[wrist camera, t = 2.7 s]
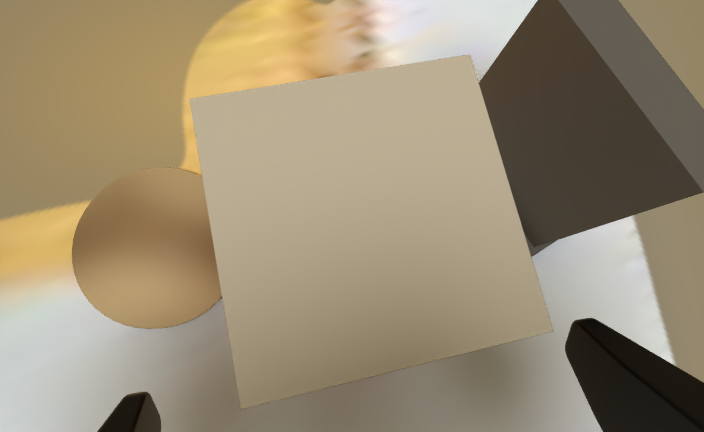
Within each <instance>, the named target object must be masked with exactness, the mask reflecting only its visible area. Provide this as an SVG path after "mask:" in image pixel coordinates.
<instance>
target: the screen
mask: <svg viewBox="0 0 704 432" xmlns="http://www.w3.org/2000/svg"><path fill="white" fill-rule="evenodd" d="M479 86H480V89H481V93H482V96H483V99H484V103H485V106H486V109H487V112H488V116H489V119H490V122H491V126H492V129H493V132H494V136H495V139H496V142H497V146H498V149H499V152H500V155H501V159H502V162H503V165H504V169H505V172H506V175H507V179H508V182H509V185H510V189H511V192H512V195H513V198H514V202H515V205H516V208H517V212H518V215H519V218H520V222H521V225H522V228H523V232H524V235H525V238H526V241H527V245H528V248H529V251H530V255H531V257H532V256H534V255H535V254H537V253H538V252H540V251H541V250H543V249H544V248H546V247H547V246H549V245H550V244H552V243H553V242H555V241H556V240H558V239H561V238H564V237H567V236H570V235H574V234H577V233H580V232H583V231H586V230H589V229H592V228H595V227H598V226H601V225H604V224H607V223H610V222H614V221H617V220H620V219H623V218H626V217H629V216H632V215H635V214H638V213H641V212H644V211H647V210H651V209H653V208H656V207H660V206H663V205H666V204H669V203H672V202H675V201H678V200H681V199H684V198H687V197H691V196H694V195H697V194H700V193H703V192H704V109H703V108H702V107H701V106H700V104H699V103H698V102H697V100H696V99H695V98H694V97H693V95H692V94H691V93H690V92H689V90H688V89H687V88H686V86H685V85H684V84H683V83H682V81H681V80H680V79H679V77H678V76H677V75H676V74H675V72H674V71H673V70H672V68H671V67H670V66H669V65H668V63H667V62H666V61H665V59H664V58H663V57H662V56H661V54H660V53H659V52H658V51H657V49H656V48H655V47H654V46H653V44H652V43H651V42H650V40H649V39H648V38H647V36H646V35H645V34H644V33H643V31H642V30H641V29H640V27H639V26H638V25H637V24H636V22H635V21H634V20H633V19H632V17H631V16H630V15H629V14H628V12H627V11H626V10H625V8H624V7H623V6H622V4H621V3H620V2H619V1H618V0H538V1H537V2H536V4H535V5H534V6H533V8H532V9H531V11H530V12H529V13H528V15H527V16H526V18H525V19H524V21H523V22H522V23H521V25H520V26H519V28H518V29H517V30H516V32H515V33H514V35H513V36H512V37H511V39H510V40H509V42H508V43H507V44H506V46H505V47H504V49H503V50H502V51H501V53H500V54H499V56H498V57H497V58H496V60H495V61H494V63H493V64H492V65H491V67H490V68H489V70H488V71H487V72H486V74H485V75H484V77H483V78H482V79H481V81H480V82H479Z"/></svg>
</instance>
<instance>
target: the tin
mask: <svg viewBox="0 0 704 432" xmlns="http://www.w3.org/2000/svg"><path fill="white" fill-rule="evenodd" d="M190 106H191V112H192V118H193V124H194V130H195V136H196V142H197V148H198V154H199V160H200V166H201V172H202V178H203V184H204V190H205V196H206V203H207V209H208V215H209V221H210V227H211V233H212V239H213V245H214V251H215V257H216V263H217V269H218V275H219V281H220V287H221V293H222V299H223V306H224V312H225V318H226V324H227V330H228V336H229V342H230V348H231V354H232V360H233V366H234V372H235V378H236V384H237V390H238V396H239V403H240V409H244V408H248V407H252V406H256V405H260V404H264V403H268V402H272V401H276V400H280V399H284V398H288V397H292V396H296V395H300V394H304V393H308V392H312V391H316V390H320V389H324V388H328V387H332V386H336V385H340V384H344V383H348V382H352V381H356V380H360V379H364V378H368V377H372V376H376V375H380V374H384V373H388V372H392V371H396V370H400V369H404V368H408V367H412V366H416V365H420V364H424V363H428V362H432V361H436V360H440V359H444V358H448V357H452V356H456V355H460V354H464V353H468V352H472V351H476V350H480V349H484V348H488V347H492V346H496V345H500V344H504V343H508V342H513V341H517V340H521V339H525V338H529V337H533V336H537V335H541V334H545V333H549V332H553V327H552V324H551V321H550V318H549V314H548V311H547V308H546V304H545V301H544V298H543V294H542V291H541V288H540V284H539V281H538V278H537V275H536V271H535V268H534V265H533V261H532V258H531V255H530V251H529V248H528V245H527V241H526V238H525V235H524V232H523V228H522V225H521V222H520V218H519V215H518V212H517V208H516V205H515V202H514V198H513V195H512V192H511V189H510V185H509V182H508V179H507V175H506V172H505V169H504V165H503V162H502V159H501V155H500V152H499V149H498V146H497V142H496V139H495V136H494V132H493V129H492V126H491V122H490V119H489V116H488V112H487V109H486V106H485V103H484V99H483V96H482V93H481V89H480V86H479V83H478V79H477V76H476V73H475V69H474V66H473V63H472V60H471V56H470V55H463V56H457V57H451V58H444V59H438V60H432V61H425V62H419V63H413V64H406V65H400V66H394V67H387V68H381V69H375V70H368V71H362V72H356V73H349V74H343V75H337V76H330V77H324V78H318V79H311V80H305V81H299V82H292V83H286V84H280V85H274V86H267V87H261V88H255V89H248V90H242V91H236V92H229V93H223V94H217V95H210V96H204V97H198V98H191V99H190Z"/></svg>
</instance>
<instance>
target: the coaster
mask: <svg viewBox="0 0 704 432" xmlns="http://www.w3.org/2000/svg"><path fill="white" fill-rule="evenodd" d="M72 263H73V268H74V273H75V276H76V279H77V282H78V284H79V286H80V288H81V290H82V292H83V294H84V295H85V296H86V298H87V299H88V301H89V302H90V303H91V304H92V305H93V306H94V307H95V308H96V309H97V310H98V311H100V312H101V313H102V314H104V315H105V316H107V317H109V318H110V319H112V320H114V321H116V322H119V323H121V324H124V325H127V326H131V327H136V328H145V329H152V328H166V327H172V326H176V325H180V324H183V323H186V322H188V321H190V320H193V319H195V318H196V317H198V316H200V315H202V314H203V313H205V312H206V311H207V310H209V309H210V308H211V307H213V306H214V305H215V304H216V303H217V302H218V301H219V300H220V299H221V298H222V293H221V287H220V281H219V275H218V269H217V263H216V257H215V251H214V245H213V239H212V233H211V227H210V221H209V215H208V209H207V203H206V196H205V190H204V184H203V178H202V177H201V176H199V175H197V174H194V173H192V172H189V171H185V170H181V169H176V168H159V167H158V168H149V169H144V170H140V171H136V172H133V173H131V174H128V175H126V176H124V177H122V178H120V179H118V180H116V181H114V182H113V183H111V184H110V185H108V186H107V187H106V188H105V189H103V190H102V191H101V192H100V193H99V194H98V195H97V196H96V197H95V198H94V199H93V200H92V201H91V203H90V204H89V205H88V207H87V208H86V210H85V211H84V213H83V215H82V217H81V219H80V221H79V223H78V226H77V228H76V231H75V235H74V239H73V247H72Z"/></svg>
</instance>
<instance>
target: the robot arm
mask: <svg viewBox="0 0 704 432" xmlns="http://www.w3.org/2000/svg"><path fill="white" fill-rule="evenodd" d="M565 351H566V355H567V358H568V360H569V362H570V364H571V366H572V368H573V371H574V373H575V375H576V377H577V379H578V381H579V384H580V386H581V388H582V390H583V392H584V394H585V396H586V399H587V401H588V403H589V405H590V407H591V409H592V411H593V413H594V415H595V418H596V420H597V421H598V423H599V425H600V427H601V429H602V430H603V432H704V383H703V382H701V381H700V380H698V379H696V378H695V377H693V376H691V375H690V374H688V373H686V372H684V371H683V370H681V369H679V368H678V367H676V366H674V365H673V364H671V363H669V362H667V361H666V360H664V359H662V358H661V357H659V356H657V355H656V354H654V353H652V352H650V351H649V350H647V349H645V348H644V347H642V346H640V345H639V344H637V343H635V342H633V341H632V340H630V339H628V338H627V337H625V336H623V335H622V334H620V333H618V332H616V331H615V330H613V329H611V328H610V327H608V326H606V325H604V324H603V323H601V322H599V321H598V320H596V319H593V318H586V319H580V320H575V321H574V322H573V323H572V325H571V328H570V331H569V334H568V338H567V341H566V344H565ZM98 432H161V419H160V415H159V413H158V411H157V408H156V406H155V404H154V402H153V400H152V397H151V395H150V394H149V393H148V392H139V393H133V394H129V395H127V396H125V397H124V398H123V399H122V400H121V402H120V403H119V404H118V405H117V407H116V408H115V409H114V411H113V412H112V413H111V415H110V416H109V417H108V419H107V420H106V421H105V423H104V424H103V425H102V426H101V428H100V429H99V430H98Z"/></svg>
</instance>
